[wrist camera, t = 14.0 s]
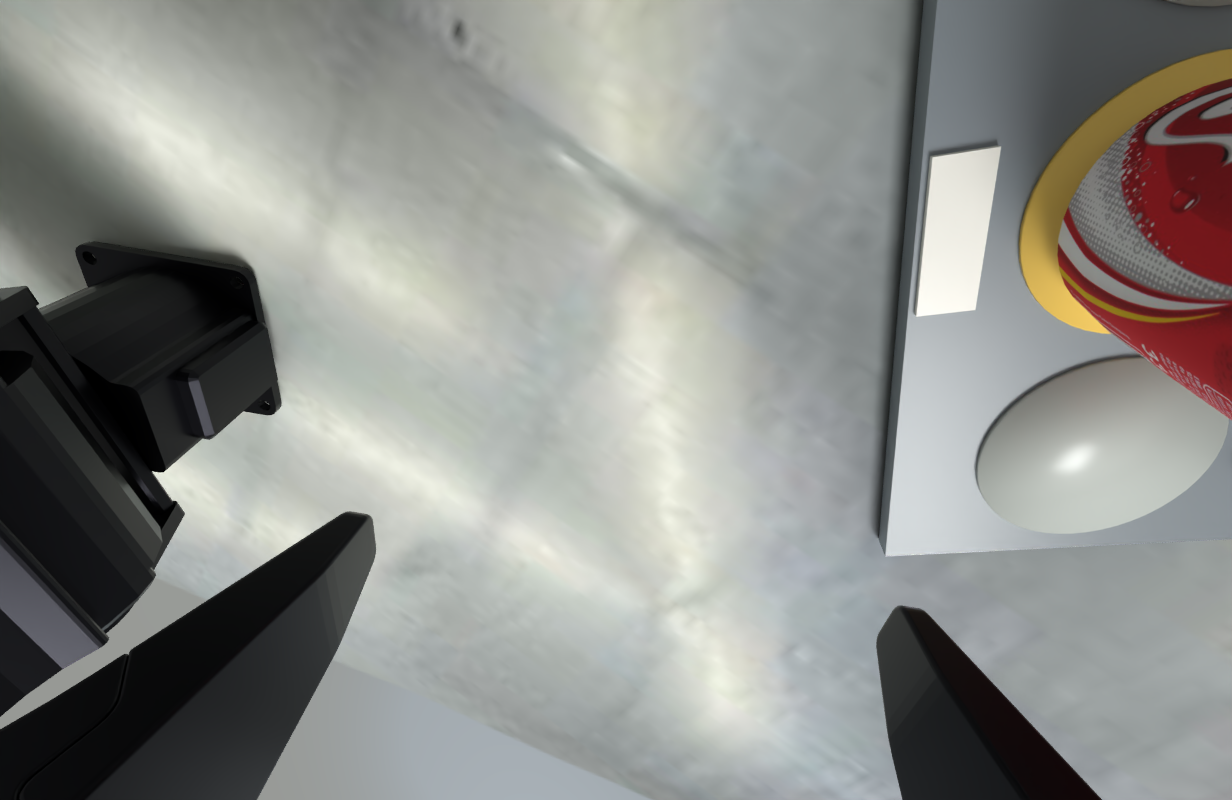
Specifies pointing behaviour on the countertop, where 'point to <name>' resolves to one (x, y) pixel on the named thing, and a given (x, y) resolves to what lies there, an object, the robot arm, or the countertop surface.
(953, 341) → the control panel
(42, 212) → the countertop surface
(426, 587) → the countertop surface
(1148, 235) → the soda can
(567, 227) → the countertop surface
